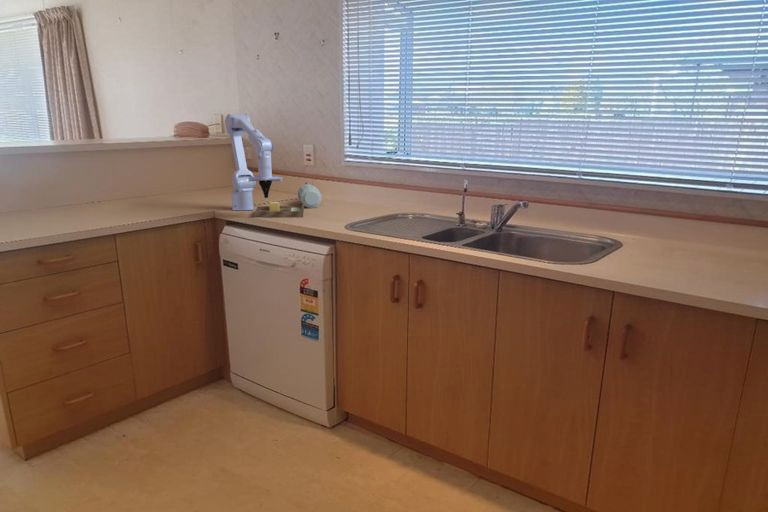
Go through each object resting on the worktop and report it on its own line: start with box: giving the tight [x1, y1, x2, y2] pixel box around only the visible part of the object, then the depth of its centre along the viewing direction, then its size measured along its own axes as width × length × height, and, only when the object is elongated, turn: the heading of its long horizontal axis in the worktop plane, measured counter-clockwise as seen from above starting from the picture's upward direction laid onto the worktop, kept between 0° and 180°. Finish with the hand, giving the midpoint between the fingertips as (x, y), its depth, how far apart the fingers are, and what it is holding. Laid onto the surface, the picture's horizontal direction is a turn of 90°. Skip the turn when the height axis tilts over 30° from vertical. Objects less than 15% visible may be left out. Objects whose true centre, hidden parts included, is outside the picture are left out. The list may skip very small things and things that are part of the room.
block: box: [268, 201, 280, 211], centre depth 243 cm, size 4×4×4 cm
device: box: [297, 182, 322, 209], centre depth 275 cm, size 31×10×10 cm, turn 16°
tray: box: [253, 203, 305, 218], centre depth 247 cm, size 22×13×4 cm, turn 96°
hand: (266, 197), depth 242 cm, fingers closed
